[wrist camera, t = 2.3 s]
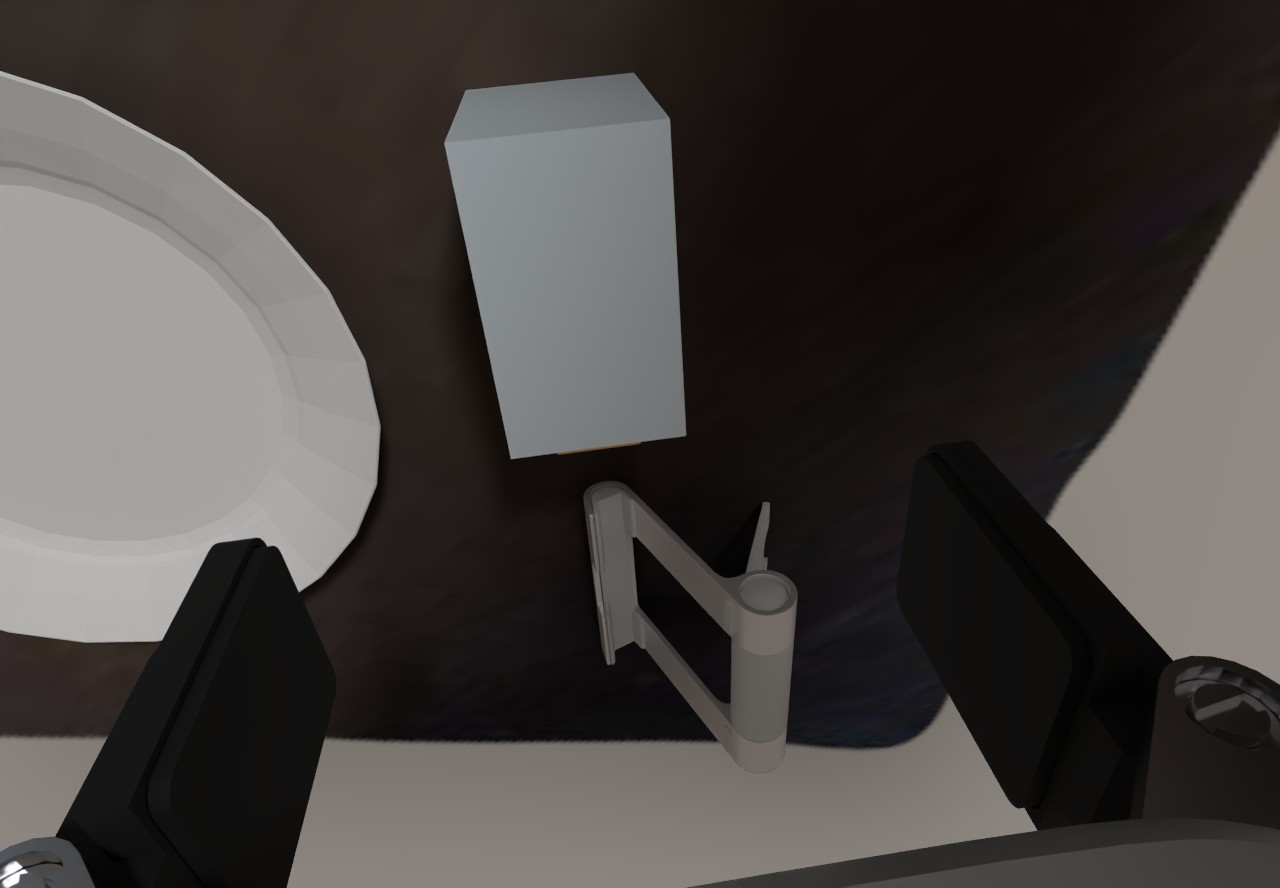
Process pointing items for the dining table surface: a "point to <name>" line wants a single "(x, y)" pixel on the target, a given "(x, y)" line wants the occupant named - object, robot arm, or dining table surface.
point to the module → (573, 259)
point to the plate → (157, 379)
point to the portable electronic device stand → (740, 605)
